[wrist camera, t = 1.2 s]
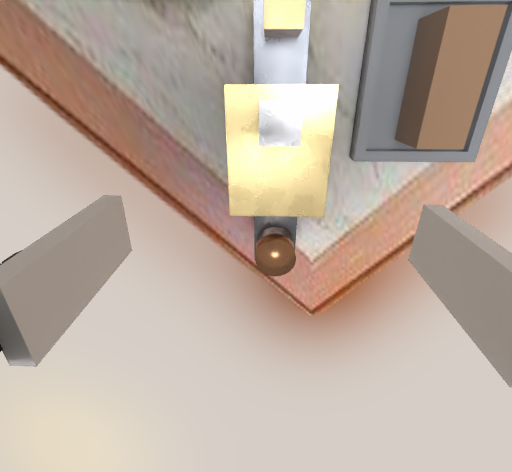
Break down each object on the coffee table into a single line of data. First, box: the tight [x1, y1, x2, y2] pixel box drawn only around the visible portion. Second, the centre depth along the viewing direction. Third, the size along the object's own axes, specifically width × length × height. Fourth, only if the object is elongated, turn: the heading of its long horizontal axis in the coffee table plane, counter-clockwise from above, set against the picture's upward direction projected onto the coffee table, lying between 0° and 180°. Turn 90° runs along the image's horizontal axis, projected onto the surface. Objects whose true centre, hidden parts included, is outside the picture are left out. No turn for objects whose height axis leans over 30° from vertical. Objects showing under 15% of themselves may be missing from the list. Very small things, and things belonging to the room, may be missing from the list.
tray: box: [350, 0, 512, 162], centre depth 26 cm, size 14×12×6 cm
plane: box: [254, 0, 311, 276], centre depth 27 cm, size 22×4×11 cm, turn 0°
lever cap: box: [224, 84, 339, 217], centre depth 24 cm, size 10×8×4 cm
